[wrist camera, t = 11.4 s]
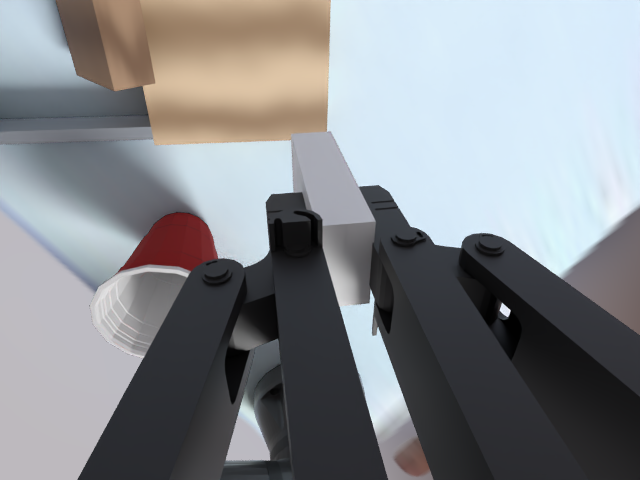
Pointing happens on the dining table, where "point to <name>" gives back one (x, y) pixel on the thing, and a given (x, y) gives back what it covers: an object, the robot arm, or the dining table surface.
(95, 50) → the brown square block
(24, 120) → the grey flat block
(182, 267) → the plastic cup
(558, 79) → the dining table surface
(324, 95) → the board
